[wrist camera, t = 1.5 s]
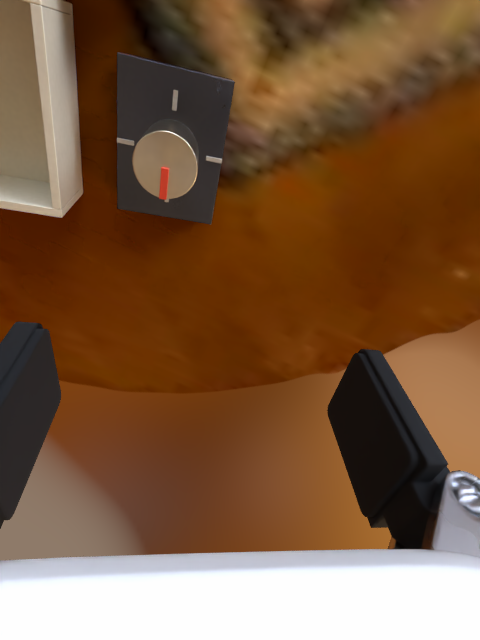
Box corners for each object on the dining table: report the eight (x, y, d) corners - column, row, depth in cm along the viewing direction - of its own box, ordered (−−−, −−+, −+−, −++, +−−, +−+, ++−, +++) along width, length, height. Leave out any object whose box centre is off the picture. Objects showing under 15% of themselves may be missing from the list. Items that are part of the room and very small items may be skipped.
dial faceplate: (124, 52, 28) (116, 52, 26) (232, 79, 30) (234, 81, 27) (123, 198, 35) (116, 209, 33) (210, 213, 37) (211, 225, 34)
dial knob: (143, 113, 28) (132, 124, 24) (202, 126, 29) (202, 139, 25) (141, 174, 31) (130, 194, 26) (194, 184, 32) (193, 205, 27)
